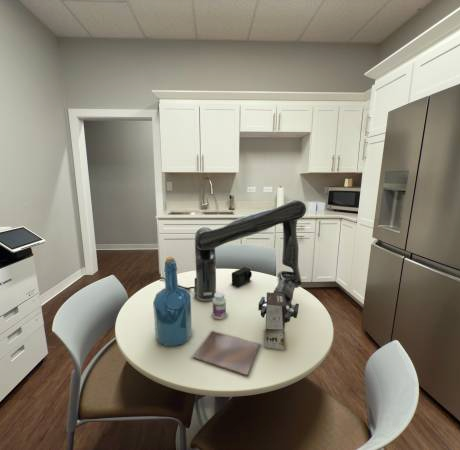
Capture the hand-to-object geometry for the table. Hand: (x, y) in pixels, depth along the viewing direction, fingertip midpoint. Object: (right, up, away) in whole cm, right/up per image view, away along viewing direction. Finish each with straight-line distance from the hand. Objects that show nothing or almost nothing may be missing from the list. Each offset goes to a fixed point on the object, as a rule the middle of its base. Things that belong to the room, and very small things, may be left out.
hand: (274, 317), depth 84 cm
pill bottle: (-19, -6, +19) cm, 27 cm away
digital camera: (-7, 0, +48) cm, 48 cm away
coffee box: (+1, -10, +4) cm, 10 cm away
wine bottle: (-35, -9, +7) cm, 37 cm away
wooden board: (-16, -11, -2) cm, 19 cm away
